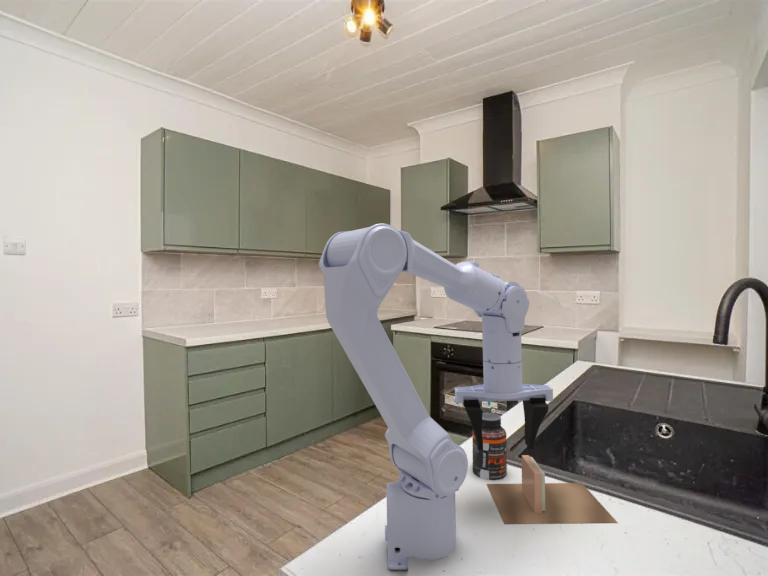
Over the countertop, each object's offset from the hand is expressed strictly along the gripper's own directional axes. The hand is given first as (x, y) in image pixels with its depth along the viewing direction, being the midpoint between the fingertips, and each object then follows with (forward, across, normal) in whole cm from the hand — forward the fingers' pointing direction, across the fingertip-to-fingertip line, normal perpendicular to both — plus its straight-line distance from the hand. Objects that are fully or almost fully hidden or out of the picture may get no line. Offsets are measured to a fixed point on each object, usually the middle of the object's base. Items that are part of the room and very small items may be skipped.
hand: (504, 446), depth 63 cm
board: (+10, -6, 0) cm, 12 cm away
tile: (+9, -4, 0) cm, 10 cm away
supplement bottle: (+10, 0, -10) cm, 14 cm away
